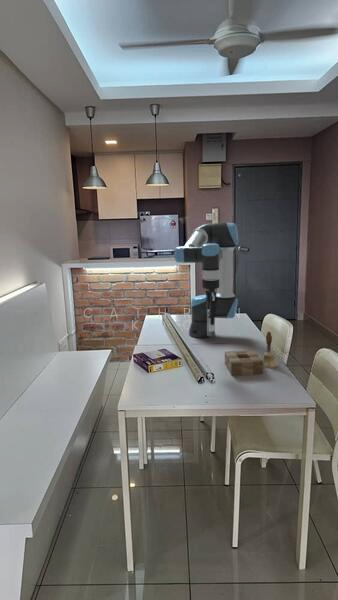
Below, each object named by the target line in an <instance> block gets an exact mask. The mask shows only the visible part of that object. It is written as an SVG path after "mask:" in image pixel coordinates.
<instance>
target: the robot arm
mask: <svg viewBox="0 0 338 600" xmlns="http://www.w3.org/2000/svg"><path fill="white" fill-rule="evenodd" d="M238 244H239V232H238V226H237V224H236V223H234V222H219V223H217V222H215V223H214V222H213V223H212V222H211V223H205V224H202V225H199V226H198V227H197V228H195V229H194V230H193V231H192V232H191V234H190V237H189V239H188V240H187V241H186V242H185V244H184V245H183V246H177V247H175V250H174V260H175V262H176V263H180V264H181V263H182V264H189V263H191V264H192V263H193V264H194V263H195V264H196V263H197V264H198V263H199V264H201V265H202V271H201V272H200V274H201V275H202V283H201V285H202V289H205V294H200V295H196V296H193V297H192V298H191V302H190V303H191V304H190V306H191V307H190V312H191V313H190V314H191V323H190V326H189V329H188V335H189V336H190V337H193V338H199V339H203V338H205V339H206V338H210V337H212V336H207V309H209V316H208V318H209V332H210V331H215V332H216V319H234V318H235V317H236V313H237V310H238V309H237V307H238V300H239V299H238V298H237V297H236V295H235V294H234V293H233V279H234V278H233V275H234V274H233V270H234V269H233V268H234V267H233V264H234V262H233V261H234V260H233V259H234V258H233V256H234V255H233V253H234V250H235V249H236V246H237V245H238ZM215 289H216V291H217V292H216V291H215Z"/></svg>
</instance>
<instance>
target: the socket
mask: <svg viewBox="0 0 338 600" xmlns="http://www.w3.org/2000/svg"><path fill="white" fill-rule="evenodd" d="M224 365H225V366H226V369H227V370H228V372H229V374H230V376H231V377H235V376H236V377H237V376H250V375H253V376H254V375H263V373H264V367H263V358H262V357H260V356H259V354H258V353H257V352H256V351H255V349H249V350H233V351H232V350H230V351H229V350H228V351H224Z"/></svg>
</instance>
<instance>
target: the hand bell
mask: <svg viewBox="0 0 338 600" xmlns="http://www.w3.org/2000/svg"><path fill="white" fill-rule="evenodd" d="M266 333H267V334H266V336H265V342H266V345H267V346H266V352H264V353H263V357H262V360H263V368H267V369H273V368H278V365H279V363H278V362H277V361H276V359H275V354H274V353H273V352H272V350H271V349H272V348H271V346H272V341H273V337H272V333H271V331H267V332H266Z"/></svg>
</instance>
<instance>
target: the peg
mask: <svg viewBox="0 0 338 600" xmlns="http://www.w3.org/2000/svg"><path fill="white" fill-rule="evenodd" d="M208 316H209V309H207V336H211V337H215V336H216V330H215V331H210V332H209V318H208Z"/></svg>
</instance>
